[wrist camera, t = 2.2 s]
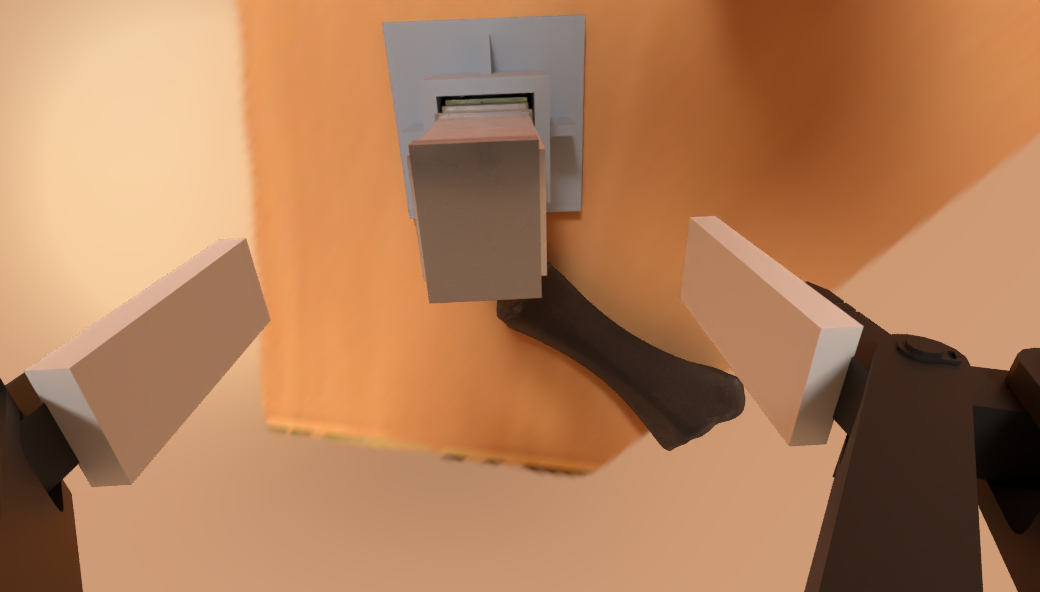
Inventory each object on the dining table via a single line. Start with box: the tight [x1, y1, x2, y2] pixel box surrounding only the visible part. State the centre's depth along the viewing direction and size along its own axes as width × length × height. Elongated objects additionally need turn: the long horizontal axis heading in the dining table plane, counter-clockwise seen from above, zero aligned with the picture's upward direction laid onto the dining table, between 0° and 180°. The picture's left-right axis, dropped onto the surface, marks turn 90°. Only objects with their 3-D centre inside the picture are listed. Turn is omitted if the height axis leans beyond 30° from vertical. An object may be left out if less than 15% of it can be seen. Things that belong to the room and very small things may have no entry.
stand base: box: [382, 15, 585, 219], centre depth 38 cm, size 16×16×12 cm
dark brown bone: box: [497, 261, 745, 451], centre depth 51 cm, size 11×10×28 cm
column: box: [406, 93, 547, 303], centre depth 30 cm, size 6×6×27 cm
